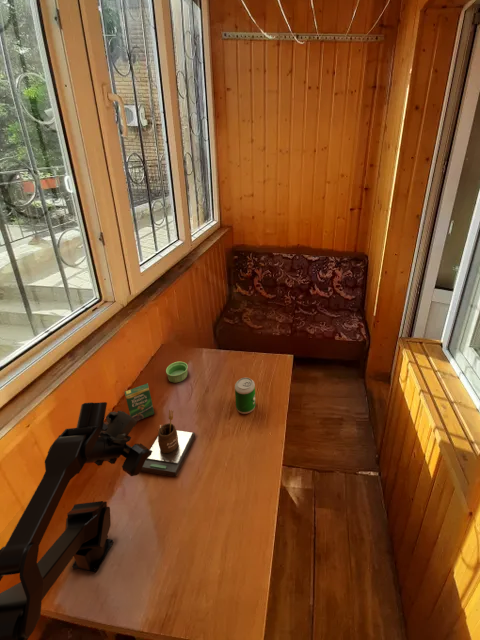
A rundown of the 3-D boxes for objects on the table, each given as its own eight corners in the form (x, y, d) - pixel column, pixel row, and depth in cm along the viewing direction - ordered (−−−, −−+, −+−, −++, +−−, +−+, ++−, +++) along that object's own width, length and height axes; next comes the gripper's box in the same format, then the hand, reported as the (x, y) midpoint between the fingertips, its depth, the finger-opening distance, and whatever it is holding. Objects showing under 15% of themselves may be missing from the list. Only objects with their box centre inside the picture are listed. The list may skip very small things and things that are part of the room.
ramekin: (167, 371, 139) (166, 363, 137) (188, 367, 141) (187, 359, 140) (166, 385, 131) (165, 377, 129) (188, 381, 133) (187, 373, 132)
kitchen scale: (176, 476, 95) (175, 471, 94) (139, 471, 97) (138, 465, 96) (195, 436, 108) (194, 431, 107) (163, 432, 110) (162, 426, 109)
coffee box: (130, 424, 113) (124, 396, 108) (130, 418, 115) (124, 390, 110) (154, 414, 117) (149, 387, 112) (153, 409, 119) (148, 382, 114)
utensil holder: (155, 451, 100) (150, 423, 96) (168, 434, 106) (163, 407, 102) (170, 456, 99) (166, 428, 94) (182, 439, 104) (179, 412, 100)
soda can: (252, 417, 116) (251, 392, 112) (233, 413, 117) (231, 388, 113) (258, 401, 123) (257, 377, 119) (240, 398, 124) (238, 374, 120)
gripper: (136, 430, 76) (176, 429, 89) (91, 401, 84) (133, 404, 97) (112, 481, 72) (157, 472, 85) (66, 445, 80) (114, 443, 93)
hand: (140, 445), depth 90 cm, fingers open, 9 cm apart
